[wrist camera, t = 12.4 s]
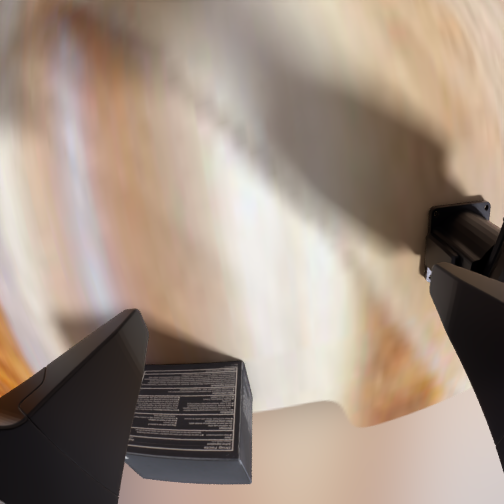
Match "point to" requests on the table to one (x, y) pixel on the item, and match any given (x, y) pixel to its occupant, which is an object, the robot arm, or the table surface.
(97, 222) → the table surface
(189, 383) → the small box
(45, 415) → the robot arm
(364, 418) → the table surface
